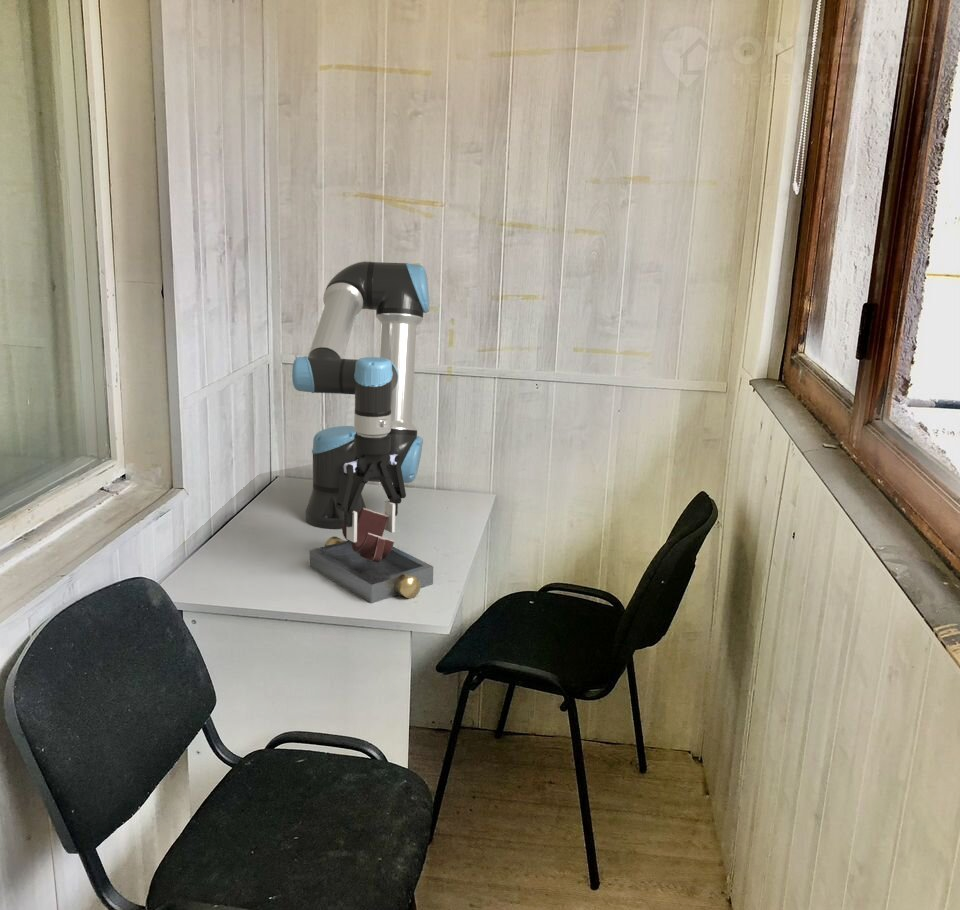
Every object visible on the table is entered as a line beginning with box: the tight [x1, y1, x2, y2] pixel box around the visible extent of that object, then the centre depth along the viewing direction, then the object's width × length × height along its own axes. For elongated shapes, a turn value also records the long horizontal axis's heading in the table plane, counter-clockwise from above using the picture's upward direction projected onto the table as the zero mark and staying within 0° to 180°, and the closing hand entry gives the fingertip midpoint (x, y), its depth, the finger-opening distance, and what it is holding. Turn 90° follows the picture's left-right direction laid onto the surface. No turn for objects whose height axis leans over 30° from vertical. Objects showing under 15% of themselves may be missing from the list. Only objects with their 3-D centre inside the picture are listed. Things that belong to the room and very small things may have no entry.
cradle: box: [309, 536, 434, 604], centre depth 198 cm, size 29×16×4 cm, turn 42°
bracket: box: [341, 507, 395, 563], centre depth 196 cm, size 6×17×10 cm, turn 29°
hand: (370, 535), depth 196 cm, fingers closed on bracket, 9 cm apart
